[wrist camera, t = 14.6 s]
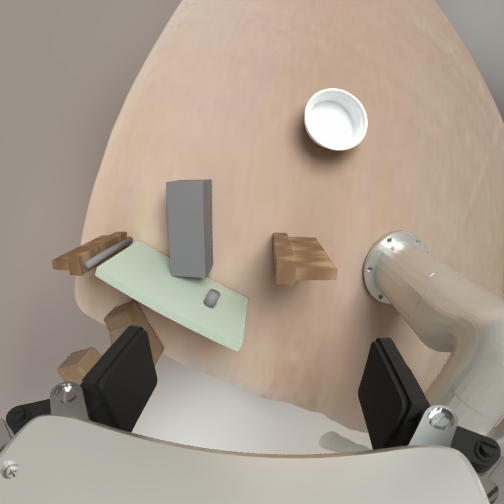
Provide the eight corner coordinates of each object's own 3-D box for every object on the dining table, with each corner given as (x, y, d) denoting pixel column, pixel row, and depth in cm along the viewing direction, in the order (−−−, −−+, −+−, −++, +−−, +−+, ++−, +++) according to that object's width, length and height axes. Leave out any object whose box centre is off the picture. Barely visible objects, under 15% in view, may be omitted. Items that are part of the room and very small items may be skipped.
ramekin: (316, 85, 36) (322, 76, 32) (367, 115, 37) (377, 110, 32) (290, 133, 38) (292, 129, 34) (342, 163, 39) (350, 162, 35)
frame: (315, 234, 42) (337, 263, 29) (314, 249, 43) (335, 285, 29) (101, 232, 44) (51, 256, 30) (103, 245, 44) (54, 273, 31)
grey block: (211, 179, 41) (203, 181, 35) (213, 263, 44) (205, 277, 39) (179, 180, 41) (166, 182, 35) (182, 262, 45) (171, 276, 39)
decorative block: (114, 306, 48) (54, 369, 28) (136, 298, 47) (78, 365, 28) (142, 354, 50) (100, 426, 31) (165, 348, 50) (126, 426, 30)
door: (254, 288, 44) (250, 333, 32) (245, 304, 45) (237, 352, 33) (132, 224, 42) (88, 245, 30) (126, 241, 43) (82, 267, 31)
